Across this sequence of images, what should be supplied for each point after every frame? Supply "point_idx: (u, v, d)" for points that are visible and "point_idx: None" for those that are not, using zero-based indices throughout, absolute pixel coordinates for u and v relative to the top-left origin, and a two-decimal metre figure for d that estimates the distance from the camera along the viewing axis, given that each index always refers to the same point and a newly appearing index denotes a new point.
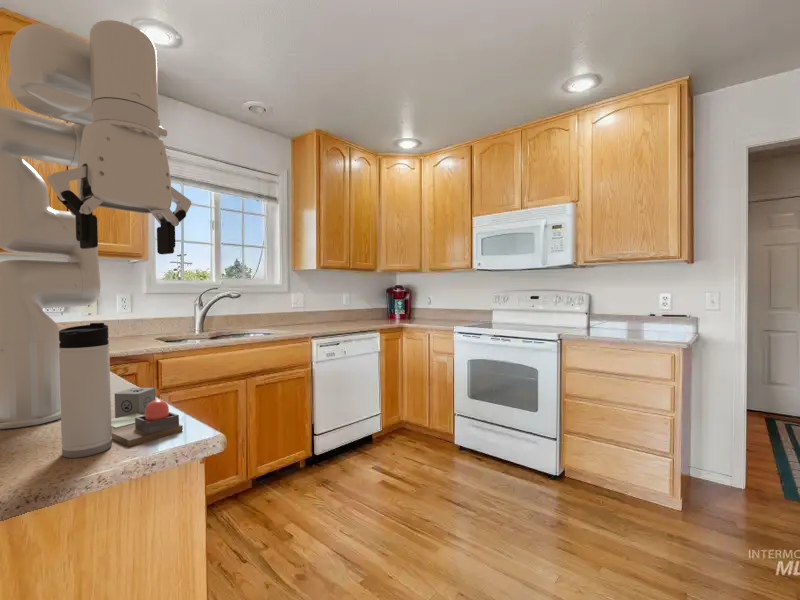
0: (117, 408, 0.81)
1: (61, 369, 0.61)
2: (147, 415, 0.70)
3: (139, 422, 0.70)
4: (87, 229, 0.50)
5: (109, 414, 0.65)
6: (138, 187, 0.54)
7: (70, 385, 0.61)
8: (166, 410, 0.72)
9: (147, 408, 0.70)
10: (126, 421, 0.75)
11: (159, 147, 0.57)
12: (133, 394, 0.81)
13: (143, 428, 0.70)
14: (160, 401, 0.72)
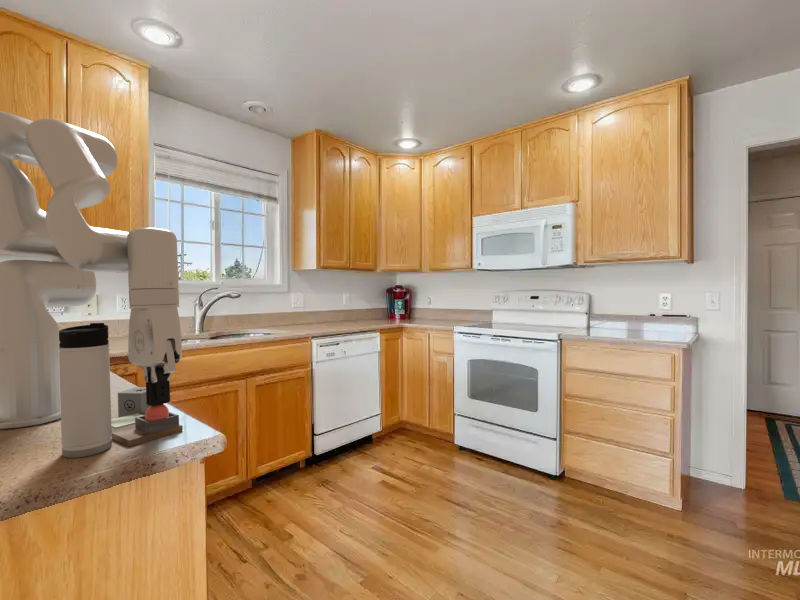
0: (120, 408, 0.81)
1: (61, 369, 0.61)
2: (147, 419, 0.70)
3: (139, 422, 0.70)
4: None
5: (109, 414, 0.65)
6: None
7: (70, 385, 0.61)
8: (166, 413, 0.72)
9: (147, 412, 0.70)
10: (126, 421, 0.75)
11: None
12: (136, 393, 0.81)
13: (143, 428, 0.70)
14: (160, 404, 0.72)
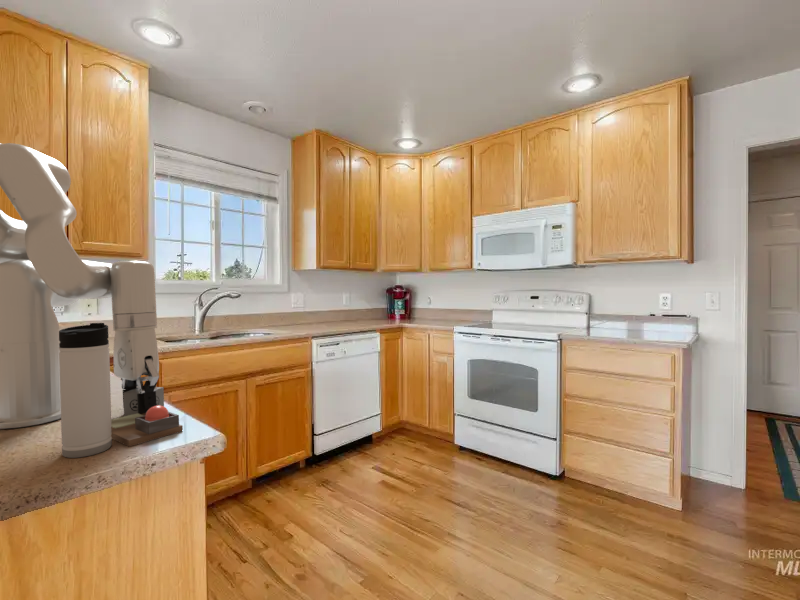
0: (126, 407, 0.82)
1: (61, 369, 0.61)
2: None
3: (139, 422, 0.70)
4: (152, 400, 0.82)
5: (109, 414, 0.65)
6: None
7: (70, 385, 0.61)
8: (166, 416, 0.72)
9: (147, 414, 0.70)
10: (126, 421, 0.75)
11: None
12: None
13: (143, 428, 0.70)
14: (160, 406, 0.72)
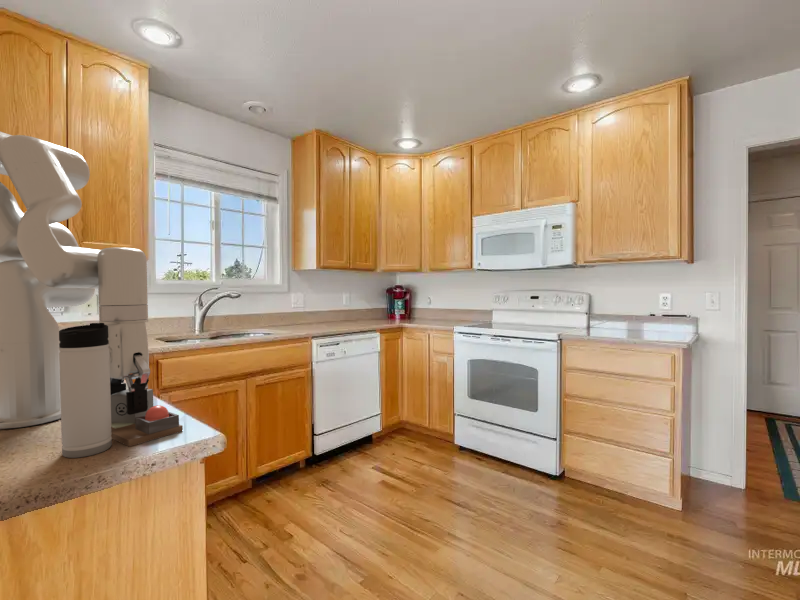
0: (111, 412, 0.74)
1: (61, 369, 0.61)
2: None
3: (139, 422, 0.70)
4: (143, 399, 0.74)
5: (109, 414, 0.65)
6: None
7: (70, 385, 0.61)
8: (166, 416, 0.72)
9: (147, 414, 0.70)
10: None
11: None
12: None
13: (143, 428, 0.70)
14: (160, 406, 0.72)
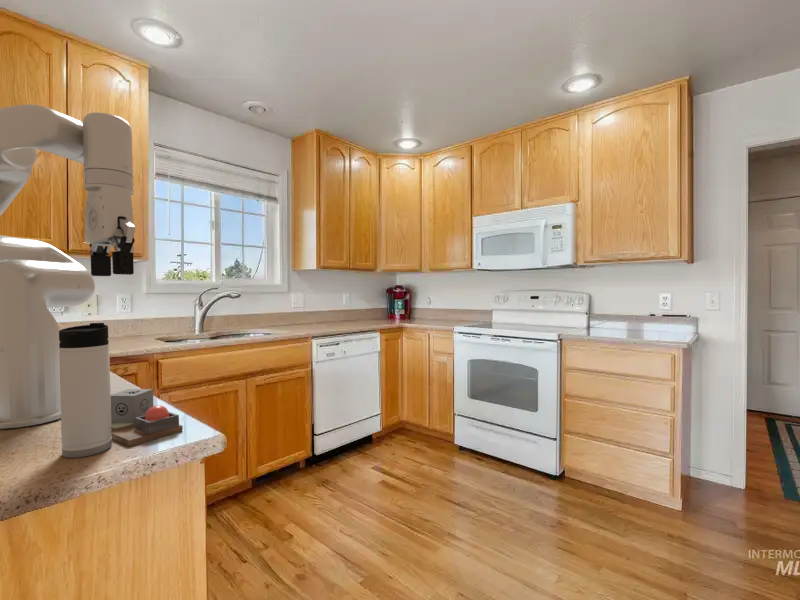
0: (111, 412, 0.74)
1: (61, 369, 0.61)
2: None
3: (139, 422, 0.70)
4: (129, 262, 0.74)
5: (109, 414, 0.65)
6: None
7: (70, 385, 0.61)
8: (166, 416, 0.72)
9: (147, 414, 0.70)
10: None
11: None
12: (128, 396, 0.74)
13: (143, 428, 0.70)
14: (160, 406, 0.72)
